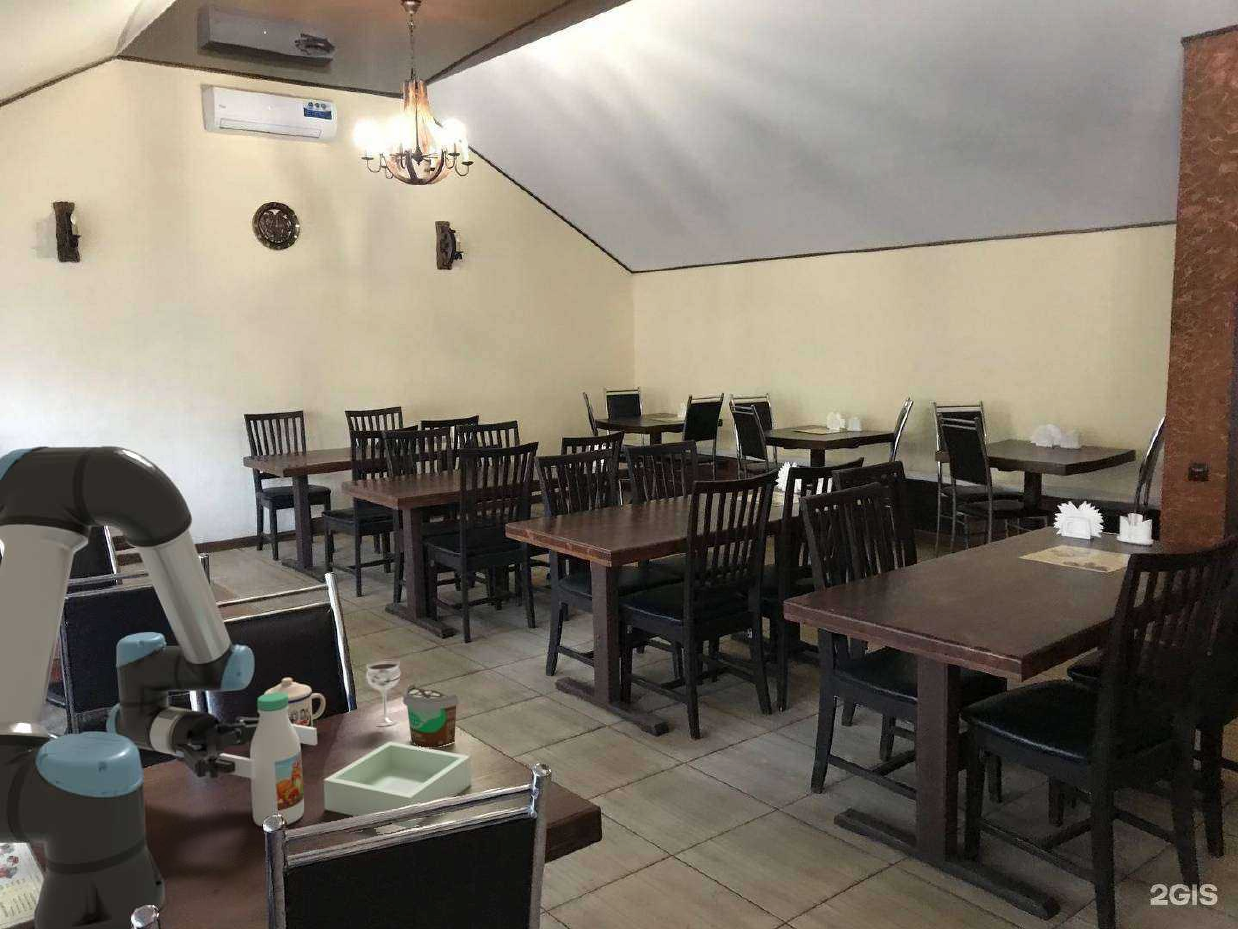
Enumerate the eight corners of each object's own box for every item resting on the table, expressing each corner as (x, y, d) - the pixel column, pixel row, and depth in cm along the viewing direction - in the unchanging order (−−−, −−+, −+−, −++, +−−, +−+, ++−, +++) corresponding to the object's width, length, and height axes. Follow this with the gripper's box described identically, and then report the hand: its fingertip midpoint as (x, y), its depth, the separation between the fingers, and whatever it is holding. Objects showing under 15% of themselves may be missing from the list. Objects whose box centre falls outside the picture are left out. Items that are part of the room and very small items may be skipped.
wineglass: (360, 725, 191) (358, 667, 190) (383, 714, 198) (380, 657, 196) (388, 730, 189) (385, 671, 187) (409, 719, 195) (407, 661, 193)
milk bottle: (258, 833, 147) (251, 708, 145) (248, 814, 154) (241, 694, 152) (309, 820, 151) (303, 698, 149) (297, 802, 158) (291, 685, 156)
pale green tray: (411, 828, 148) (410, 797, 148) (325, 809, 155) (323, 779, 155) (471, 784, 164) (470, 756, 163) (390, 768, 171) (389, 741, 170)
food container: (390, 741, 183) (388, 691, 182) (414, 731, 188) (412, 682, 187) (436, 756, 176) (434, 703, 175) (460, 745, 181) (458, 693, 180)
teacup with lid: (276, 750, 180) (273, 690, 178) (257, 737, 186) (254, 679, 185) (336, 733, 188) (333, 675, 186) (316, 721, 194) (313, 665, 193)
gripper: (244, 728, 171) (339, 746, 163) (123, 785, 149) (226, 808, 140) (242, 688, 171) (337, 703, 162) (120, 738, 148) (223, 759, 139)
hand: (286, 752), depth 151 cm, fingers open, 13 cm apart
